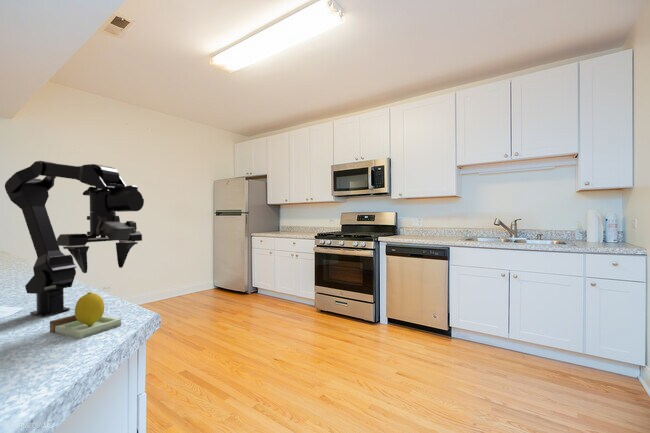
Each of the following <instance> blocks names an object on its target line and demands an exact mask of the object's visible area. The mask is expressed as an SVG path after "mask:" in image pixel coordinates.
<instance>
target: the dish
mask: <svg viewBox="0 0 650 433" xmlns="http://www.w3.org/2000/svg"><path fill="white" fill-rule="evenodd" d="M121 326H122V318H117V317H111V316H105V315H102V317H101V318H100V319H99V320H98V321H97V322H95V323H94V324H93V325H92V326H87V325H86V324H82V323H80V322H79V321H74V322H70V323H67V324H63V325H59V326H56V327H55V332H54V333H55V334H57V335H61V336H66V337H70V338H75V339H78V340H79V339H83V338H86V337H89V336H90V337H91V336H93V335H95V334H100V333H101V332H104V331H108V330H111V329H114V328H118V327H121Z"/></svg>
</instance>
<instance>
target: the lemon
mask: <svg viewBox="0 0 650 433" xmlns="http://www.w3.org/2000/svg"><path fill="white" fill-rule="evenodd" d="M75 303H76V304H75V308H74V315H75V317H76V319H77V320H78V321H79V322H80V323H82V324H86V325H87V326H92V325H93V324H94V323H95V322H97V321H98V320H99V319H100V318H101V317H102V316H104V313H105V302H104V300H103V298H102V297H101V296H100V295H99V294H97V293H93V292H92V291H89V292H87V293H85V294H84V295H81V297H79V299H78V300H76V302H75Z"/></svg>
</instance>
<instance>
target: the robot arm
mask: <svg viewBox="0 0 650 433" xmlns="http://www.w3.org/2000/svg"><path fill="white" fill-rule="evenodd" d="M40 176H42V177H43V176H44V177H43V179H41V178H38V177H40ZM56 178H61V179H62V178H64V179H69V180H70V179H71V180H77V181H79V182H80V183H82V184H85V185H87V186H88V187H87V189H86V190H84V191H83V192H82V195H83V196H89V215H87V216H86V220H88V221H89V231H86V233H61V234H59V235H58V237H57V238H56V234H55V232H54V229H53V225H52V223H51V219H50V217H49V214H48V210H47V207H46V203H47V202H48V198H49V197H50V195H49V191H50V190H51V189H52V188H53V187H54V186H55V179H56ZM4 189H5V192H6V194H7V196H8V198H9V199H10V201H11V202H12V203H13V204H14V205H15V206H17V208H18V207H19V209H21V212H22V214H23V217H24V220H25V224H26V226H27V229H28V233H29V235H30V239H31V242H32V244H33V247H34V250H35V254H36V257H37V258H36V260H35V263H34V265H33V267H32V269H33V276H32V277H31V278H30V280H28V282H27V283H26V284H25V285H24V288H25V291H26V293H27V294H35V296H36V297H35V298H36V310H34V311H30V313H29V314H30V315H33V316H38V317H47V316H51V315H54V314H58V313H62V312H66V311H67V312H68V311H70V310H71V308H70V307H66V306H65V305H64V304H65V303H64V300H65V295H64V289H67V288H72V286H73V283H74V280H75V277H76V275H77V271H76V269H77V266H79V268H80V270H81V272H82V274H87V273H88V250H89V248H90V246H89V245H87V243H98V242H110V241H111V242H114V241H118V242H115V250H116V260H117V264H118V268H120V269H122V268H123V267H124V265H125V263H126V259H127V257H128V255H129V253H130V251H131V249H132V248H133V247H134V246H135V245H138V243H139V242H142V241H143V235H142V233H141V232H140V231H139V230H137V229H138V228H137V222H136V221H134V220H127V221H125V222H121V220H120V216H119V215H117V213H119V212H120V213H121V212H127V213H128V212H139V211H141V210H142V209H143V208H144V204H145V199H144V198H143V197H144V196H143V195H142V193H141V191H139V189H138V186H137V185H127V184H126V183H125V181H124V180H123V179H122V177H121V175H120V173H119V171H118V168H115V167H112V166H107V165H103V164H102V165H101V164H96V163H95V164H94V163H91V164H90V163H89V164H88V163H87V164H83V165H79V166H78V165H70V164H63V163H57V162H56V163H55V162H50V161H45V160H37V161H34V162H33V163H32V164H31V165H30V166H27V167H26V168H25V167H24V168H23V169H21V170H18V171H16V172H14V173H13V174H12V175H11V177H9V178H8V179H7V180H6V181H5V184H4ZM60 247H63V250H68V252H69V253H70V254H65V253H63V252H62V251H61V249H60ZM74 260H75V261H76V263H77V266H76V264H75V263H74V262H75V261H74Z"/></svg>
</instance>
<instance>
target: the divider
mask: <svg viewBox="0 0 650 433" xmlns="http://www.w3.org/2000/svg"><path fill="white" fill-rule="evenodd" d="M74 321H78V320H77V319H76V317H75V314H73V315H69V316H65V317H61V318H57V319H53V320H50V321H49V332H50V333H55V327H56V326H59V325H63V324H67V323H70V322H74Z"/></svg>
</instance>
